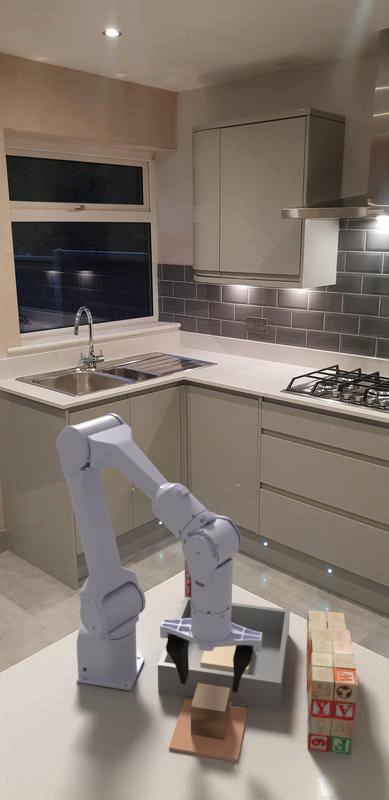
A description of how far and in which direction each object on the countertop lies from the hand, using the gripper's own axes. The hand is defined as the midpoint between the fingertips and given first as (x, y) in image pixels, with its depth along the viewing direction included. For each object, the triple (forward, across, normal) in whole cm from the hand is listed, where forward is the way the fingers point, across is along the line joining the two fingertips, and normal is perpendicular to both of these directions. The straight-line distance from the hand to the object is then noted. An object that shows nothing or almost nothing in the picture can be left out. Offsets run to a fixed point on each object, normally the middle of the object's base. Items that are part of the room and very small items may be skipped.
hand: (210, 683), depth 94 cm
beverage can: (+8, -8, +31) cm, 33 cm away
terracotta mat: (+8, 0, 0) cm, 8 cm away
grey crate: (+9, 0, +16) cm, 18 cm away
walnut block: (+8, 0, 0) cm, 8 cm away
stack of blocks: (+8, +17, +10) cm, 22 cm away
